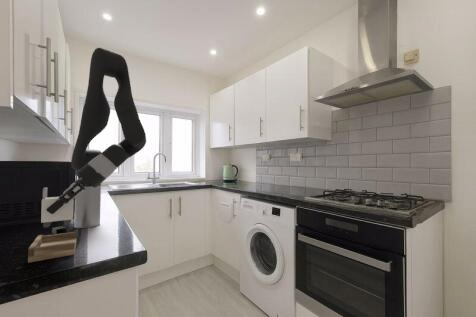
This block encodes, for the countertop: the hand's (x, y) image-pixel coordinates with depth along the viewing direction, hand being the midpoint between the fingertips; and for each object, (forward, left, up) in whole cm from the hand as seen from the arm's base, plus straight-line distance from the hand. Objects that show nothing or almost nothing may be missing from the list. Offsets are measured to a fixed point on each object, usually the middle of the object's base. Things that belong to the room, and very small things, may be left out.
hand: (50, 210), depth 67 cm
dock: (0, +1, -12) cm, 12 cm away
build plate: (-13, +1, -13) cm, 19 cm away
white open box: (0, +2, -5) cm, 5 cm away
